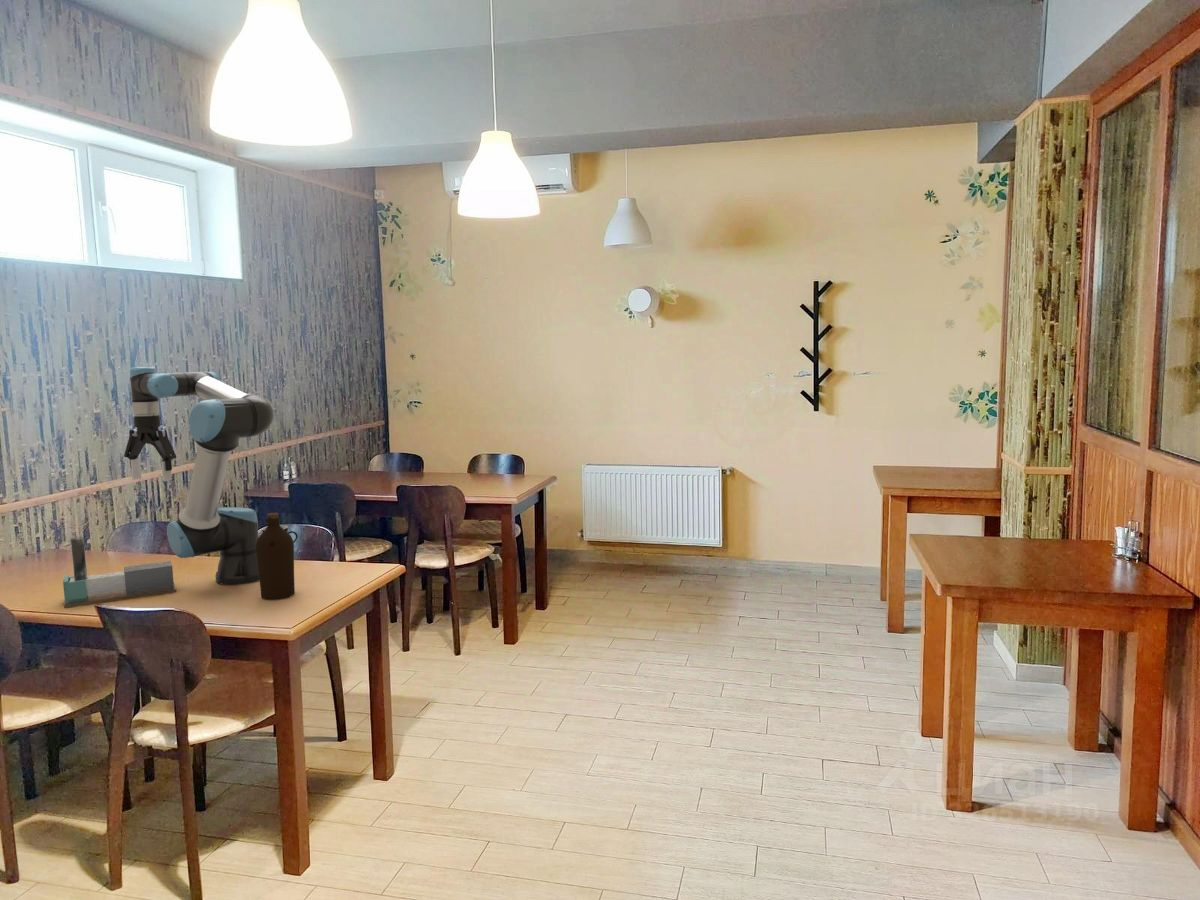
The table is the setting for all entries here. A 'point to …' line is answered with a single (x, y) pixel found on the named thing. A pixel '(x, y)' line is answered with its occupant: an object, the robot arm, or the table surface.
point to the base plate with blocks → (137, 584)
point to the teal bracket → (74, 590)
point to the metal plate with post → (94, 582)
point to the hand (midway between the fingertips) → (152, 480)
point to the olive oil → (275, 561)
